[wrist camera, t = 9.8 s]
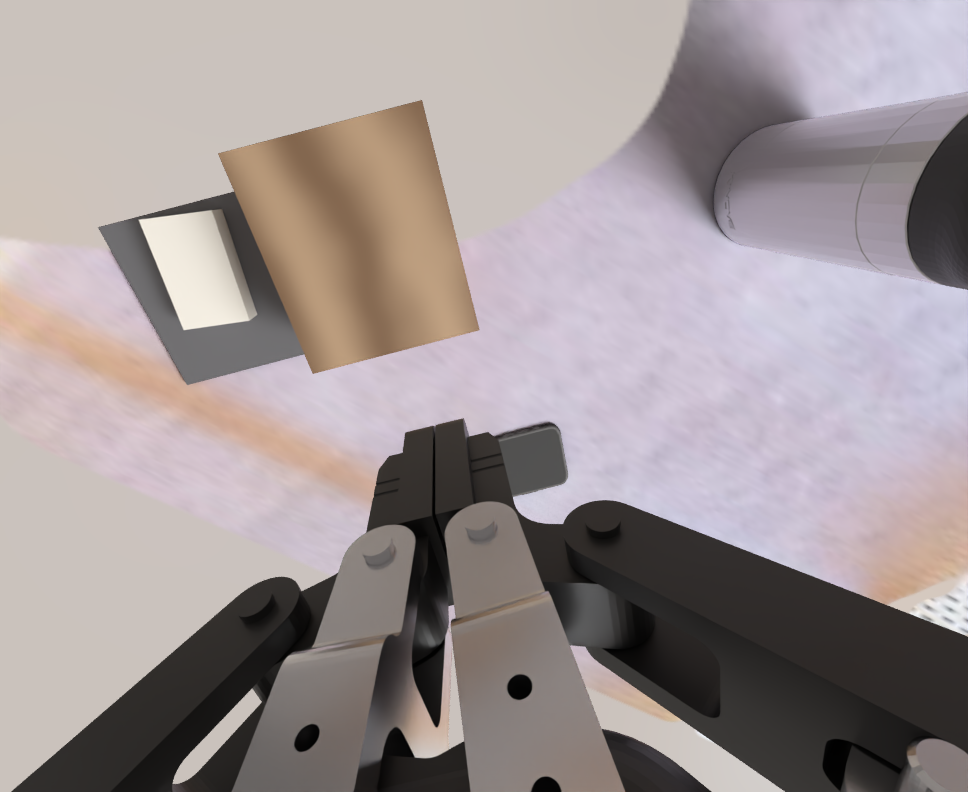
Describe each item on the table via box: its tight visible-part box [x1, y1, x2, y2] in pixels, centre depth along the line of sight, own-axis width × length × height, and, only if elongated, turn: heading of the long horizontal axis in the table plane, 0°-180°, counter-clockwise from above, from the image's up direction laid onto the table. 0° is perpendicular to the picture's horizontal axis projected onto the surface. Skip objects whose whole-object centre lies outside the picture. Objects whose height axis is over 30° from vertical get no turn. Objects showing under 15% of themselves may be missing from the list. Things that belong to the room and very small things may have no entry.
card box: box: [139, 209, 257, 330], centre depth 35 cm, size 5×8×2 cm, turn 7°
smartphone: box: [495, 424, 568, 497], centre depth 47 cm, size 7×1×15 cm
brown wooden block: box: [218, 100, 479, 374], centre depth 33 cm, size 12×14×8 cm
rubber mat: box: [99, 192, 304, 385], centre depth 37 cm, size 13×13×1 cm
